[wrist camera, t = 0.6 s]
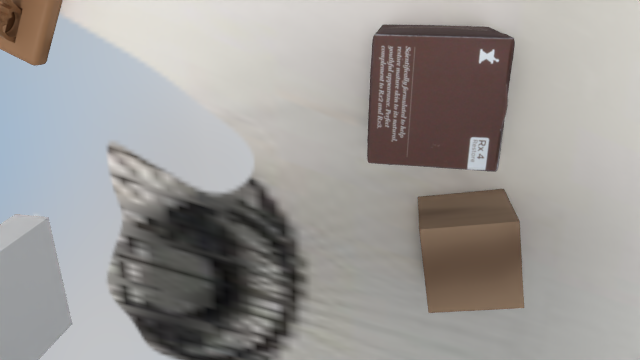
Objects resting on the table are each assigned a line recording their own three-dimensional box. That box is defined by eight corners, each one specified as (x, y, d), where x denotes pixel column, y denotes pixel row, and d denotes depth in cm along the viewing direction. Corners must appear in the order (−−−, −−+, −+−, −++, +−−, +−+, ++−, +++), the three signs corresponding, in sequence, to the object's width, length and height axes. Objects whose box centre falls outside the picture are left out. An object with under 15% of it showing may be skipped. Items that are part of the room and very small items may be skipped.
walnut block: (508, 264, 33) (524, 307, 29) (426, 269, 34) (428, 312, 30) (503, 188, 32) (519, 221, 27) (418, 196, 33) (419, 229, 28)
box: (381, 22, 30) (371, 29, 23) (492, 25, 29) (518, 34, 22) (374, 129, 32) (364, 165, 25) (479, 135, 31) (498, 174, 24)
